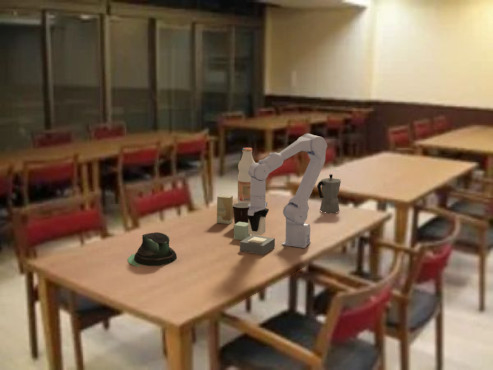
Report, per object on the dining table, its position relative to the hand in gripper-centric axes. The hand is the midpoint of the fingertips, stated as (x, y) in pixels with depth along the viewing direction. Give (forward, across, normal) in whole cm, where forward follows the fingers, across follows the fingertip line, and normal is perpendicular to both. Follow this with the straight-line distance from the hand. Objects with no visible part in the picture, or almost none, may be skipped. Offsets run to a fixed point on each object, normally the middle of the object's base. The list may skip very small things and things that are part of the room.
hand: (257, 229), depth 225 cm
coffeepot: (+8, -64, +10) cm, 65 cm away
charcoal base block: (+8, 0, 0) cm, 8 cm away
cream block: (+2, 0, 0) cm, 2 cm away
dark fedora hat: (+9, +25, -30) cm, 40 cm away
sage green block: (+8, -10, -11) cm, 17 cm away
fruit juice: (+8, -61, -31) cm, 69 cm away
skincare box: (+8, -27, -27) cm, 39 cm away
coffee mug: (+8, -22, -17) cm, 29 cm away
